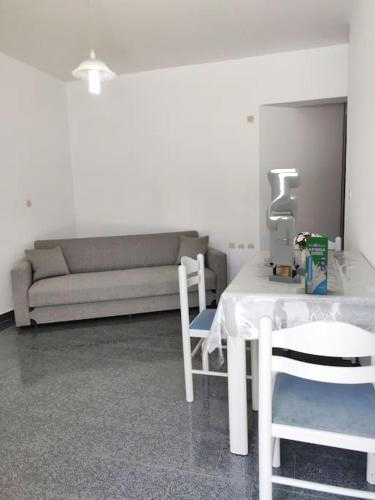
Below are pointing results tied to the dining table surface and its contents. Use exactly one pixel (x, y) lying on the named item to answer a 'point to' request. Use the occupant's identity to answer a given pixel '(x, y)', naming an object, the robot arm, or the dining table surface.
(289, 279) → the bay
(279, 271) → the block
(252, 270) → the dining table surface
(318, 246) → the milk carton
